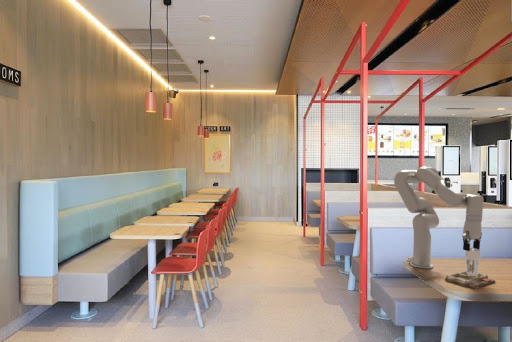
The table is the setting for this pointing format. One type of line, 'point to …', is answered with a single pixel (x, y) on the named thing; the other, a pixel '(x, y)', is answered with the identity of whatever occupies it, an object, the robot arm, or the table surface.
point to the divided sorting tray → (469, 280)
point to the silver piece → (472, 262)
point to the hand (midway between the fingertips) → (471, 249)
